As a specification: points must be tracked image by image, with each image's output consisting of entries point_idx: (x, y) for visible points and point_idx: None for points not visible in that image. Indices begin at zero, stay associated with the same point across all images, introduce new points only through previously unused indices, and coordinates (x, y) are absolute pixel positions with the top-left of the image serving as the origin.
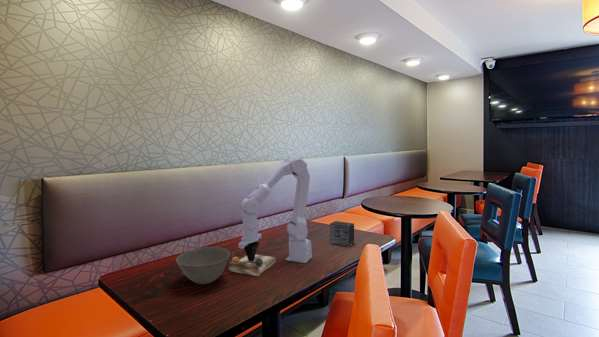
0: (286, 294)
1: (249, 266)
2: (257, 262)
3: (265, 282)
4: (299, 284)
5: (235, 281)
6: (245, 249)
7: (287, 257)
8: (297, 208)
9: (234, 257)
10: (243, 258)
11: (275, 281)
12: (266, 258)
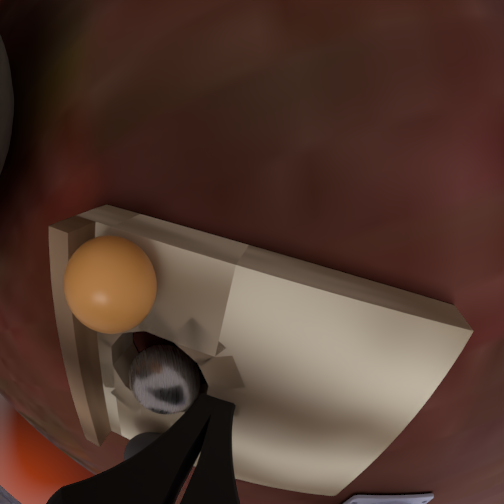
0: (62, 448)
1: (77, 402)
2: (125, 455)
3: None
4: None
5: (26, 298)
6: (105, 480)
7: (379, 499)
8: None
9: (68, 295)
10: (321, 312)
11: (108, 449)
12: (318, 470)
